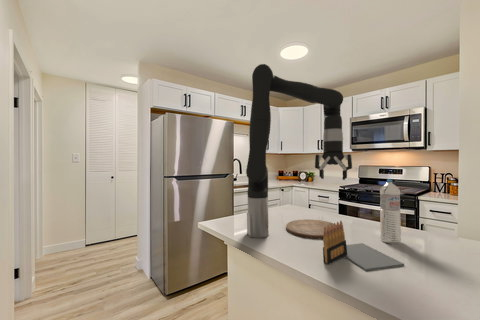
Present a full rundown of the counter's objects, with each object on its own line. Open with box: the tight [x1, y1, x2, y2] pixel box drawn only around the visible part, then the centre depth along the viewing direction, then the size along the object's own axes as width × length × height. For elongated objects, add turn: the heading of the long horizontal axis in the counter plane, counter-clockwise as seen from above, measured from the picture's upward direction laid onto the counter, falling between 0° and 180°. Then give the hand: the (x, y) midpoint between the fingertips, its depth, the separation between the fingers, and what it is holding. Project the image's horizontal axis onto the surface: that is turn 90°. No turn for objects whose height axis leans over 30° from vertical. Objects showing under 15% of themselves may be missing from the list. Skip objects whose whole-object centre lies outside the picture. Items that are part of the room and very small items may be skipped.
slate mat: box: [343, 242, 405, 272], centre depth 79 cm, size 14×18×1 cm
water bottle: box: [379, 179, 402, 245], centre depth 92 cm, size 7×7×25 cm
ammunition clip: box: [322, 220, 347, 266], centre depth 77 cm, size 11×2×12 cm, turn 123°
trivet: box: [285, 218, 335, 240], centre depth 109 cm, size 25×25×2 cm
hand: (332, 179), depth 96 cm, fingers open, 8 cm apart
